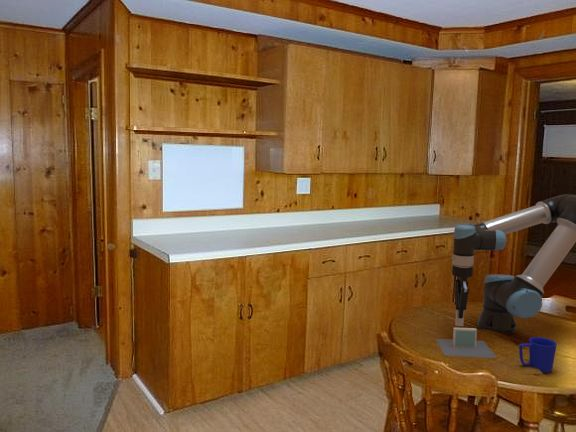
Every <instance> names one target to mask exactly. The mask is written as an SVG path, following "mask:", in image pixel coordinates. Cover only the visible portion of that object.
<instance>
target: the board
mask: <svg viewBox="0 0 576 432" xmlns="http://www.w3.org/2000/svg"><path fill="white" fill-rule="evenodd" d="M435 340H436V342H437V344H438V346H439V348H440V350H441V351H442V353H443V356H447V357H448V356H449V357H463V358H464V357H465V358H466V357H467V358H468V357H469V358H485V359H486V358H491V359H498V357H497V356H496V354H495V353H494V352H493V350H492V349H490V348H489V346H488V345H487V343H486V342H485V341H484V340H476V348H462V347H453V338H452V339H447V338H435Z"/></svg>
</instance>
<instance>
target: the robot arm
mask: <svg viewBox="0 0 576 432" xmlns="http://www.w3.org/2000/svg"><path fill="white" fill-rule="evenodd" d="M551 223H557V225H556V227H555V229H554V230H553V231H552V232H551V234H550V235H549V236H548V238H547V239H546V241H545V242H544V243H543V245H542V246H541V248H539V251H538V252H537V253H536V255H535V256H534V257H533V259H532V260H531V261H530V263H529V264H528V265H527V267H526V268H525V269H524V271H523V272H522V274H518V275H515V276H514V275H510V274H501V273H498V274H497V273H496V274H487V275H485V277H484V280H483V295H482V296H483V300H482V310H481V312H480V314H479V317H478V319H477V324H476V325H477V326H476V327H477V328H478V329H479V330H484V331H485V330H486V331H487V330H488V331H489V330H490V331H493V332H494V331H495V332H501V333H504V335H513V334H515V333H516V332H517V328H518V327H517V323H516V318H515V317H518V318H520V319H528V318H533V317H534V316H536V315H538V313H539V312H541V309H542V307H543V298H542V297H543V295H544V294H545V291H544V287H545V285H546V283H548V281H549V280H550V278H551V277H552V275H553V274H554V273H555V271H556V270H557V268H559V266H560V265H561V263H562V262H563V261H564V259H565V257H566V256H567V255H568V254H569V252H570V250H571V249H573V247H574V245H575V243H576V194H569V193H566V194H560V195H557V196H554V197H550V198H547V199H544V200H541V201H537V202H536V203H535V205H533V206H529V207H528V208H523V209H520V210H517V211H515V212H511V213H507V214H505V215H504V214H503V215H502V216H499V217H498V216H497V217H495V218H492V219H489V220H485V221H483V222H479V223H475V224H457V225H455V226H454V231H453V245H452V256H451V260H452V266H451V275H452V276H454V277H455V278H456V279H454V280H453V282H454V305H455V322H454V323H455V324H454V325H455V326H456V327H464V322H465V319H464V318H465V311H466V310H467V305H468V299H469V298H468V297H469V292H470V287H469V281H468V279H469V278H472V277H473V273H474V272H473V271H474V267H473V266H474V263H475V262H474V259H475V251H501V250H503V249H505V248H506V245H507V236H506V235H508V234H511V233H514V232H518V231H520V230H524V229H526V228H530V227H533V226H538V225H539V224H543V225H544V224H545V225H548V224H551Z"/></svg>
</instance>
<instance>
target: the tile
mask: <svg viewBox="0 0 576 432" xmlns="http://www.w3.org/2000/svg"><path fill="white" fill-rule="evenodd" d="M452 332H453V333H452V339H453V347H462V348H476V341H477V333H478V329H477V328H476V327H475V328H473V327H471V328H470V327H453V331H452Z"/></svg>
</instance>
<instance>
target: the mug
mask: <svg viewBox="0 0 576 432" xmlns="http://www.w3.org/2000/svg"><path fill="white" fill-rule="evenodd" d="M528 342H529V343H527V342H526V343H519V346H518V347H519V348H518V352H519V354H518V355H519V359H520V362H521V365H523V366H526V367H528V366H531V367H533V368H535V369H537V370H539V371H540V372H541V373H542V374H543V373H544V374H545V373H546V374H547V373H550V372H552V370H553V367H554V362H555V356H556V355H555V354H556V350H557V342H556V341H555V340H552V339H549V338H547V337H539V336H533V337H530V338H529V340H528ZM524 347H529V349H528V350H529V351H528V353H529V354H528V355H529V362H528V363H525V362H524V356H523V348H524Z"/></svg>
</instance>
